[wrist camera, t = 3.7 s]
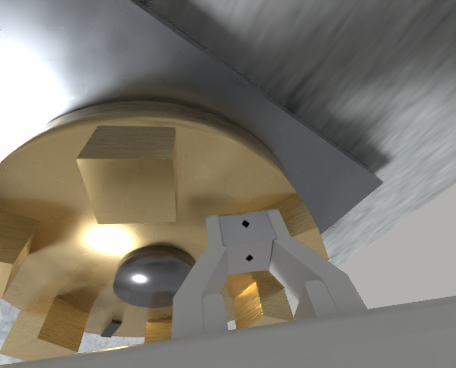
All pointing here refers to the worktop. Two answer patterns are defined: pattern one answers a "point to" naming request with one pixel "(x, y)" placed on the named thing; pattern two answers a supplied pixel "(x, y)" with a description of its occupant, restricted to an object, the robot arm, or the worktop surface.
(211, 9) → the worktop surface
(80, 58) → the base plate
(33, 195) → the ring nut
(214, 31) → the worktop surface
